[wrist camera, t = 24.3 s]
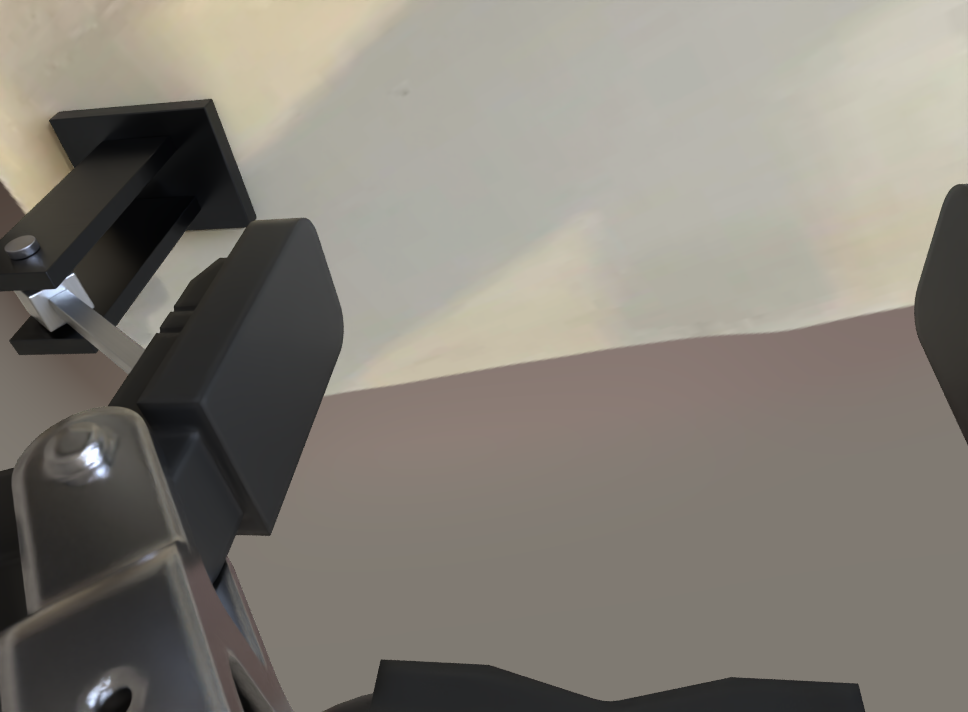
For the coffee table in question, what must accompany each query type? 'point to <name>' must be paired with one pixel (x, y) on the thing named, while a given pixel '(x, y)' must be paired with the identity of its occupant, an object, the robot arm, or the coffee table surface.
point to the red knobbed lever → (80, 320)
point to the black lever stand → (121, 208)
